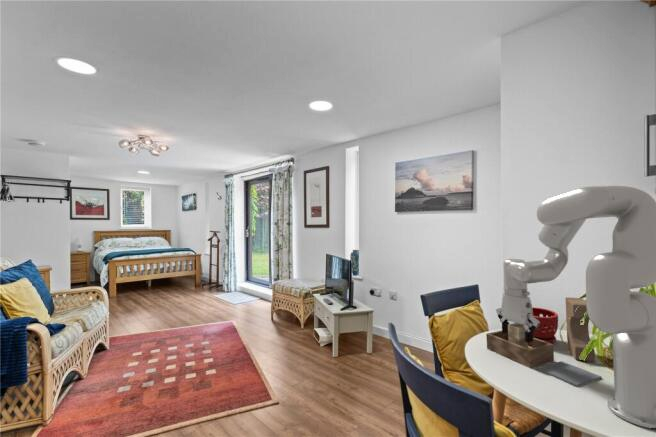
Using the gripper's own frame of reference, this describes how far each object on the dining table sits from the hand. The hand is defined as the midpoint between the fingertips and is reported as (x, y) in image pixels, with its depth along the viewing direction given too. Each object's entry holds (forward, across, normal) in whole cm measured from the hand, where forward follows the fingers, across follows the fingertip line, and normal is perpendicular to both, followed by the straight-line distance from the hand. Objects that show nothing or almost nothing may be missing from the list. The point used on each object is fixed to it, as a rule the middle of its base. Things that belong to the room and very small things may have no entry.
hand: (517, 337), depth 119 cm
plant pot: (+7, +6, -20) cm, 22 cm away
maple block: (+4, 0, 0) cm, 4 cm away
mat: (+6, -18, -1) cm, 19 cm away
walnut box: (+6, 0, 0) cm, 7 cm away
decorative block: (+7, -10, -19) cm, 23 cm away
